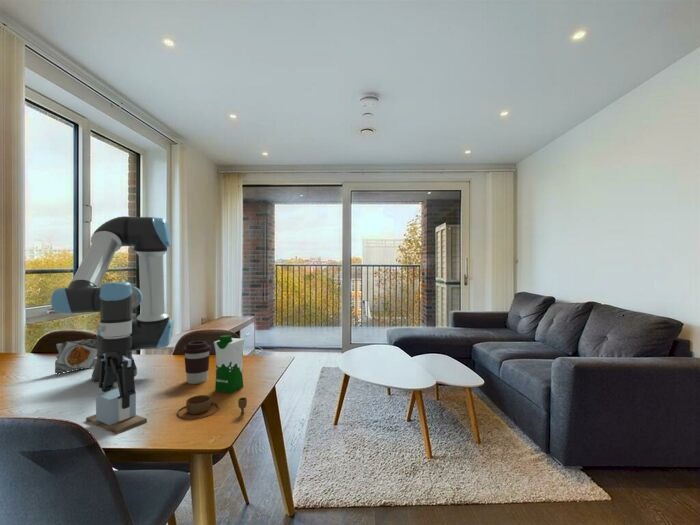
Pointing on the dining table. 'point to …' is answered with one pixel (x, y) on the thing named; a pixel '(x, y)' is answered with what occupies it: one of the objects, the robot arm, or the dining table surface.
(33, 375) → the dining table surface
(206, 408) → the place setting
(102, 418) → the cube
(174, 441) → the dining table surface
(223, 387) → the milk carton
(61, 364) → the meal
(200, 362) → the coffee cup
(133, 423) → the board
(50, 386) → the dining table surface
